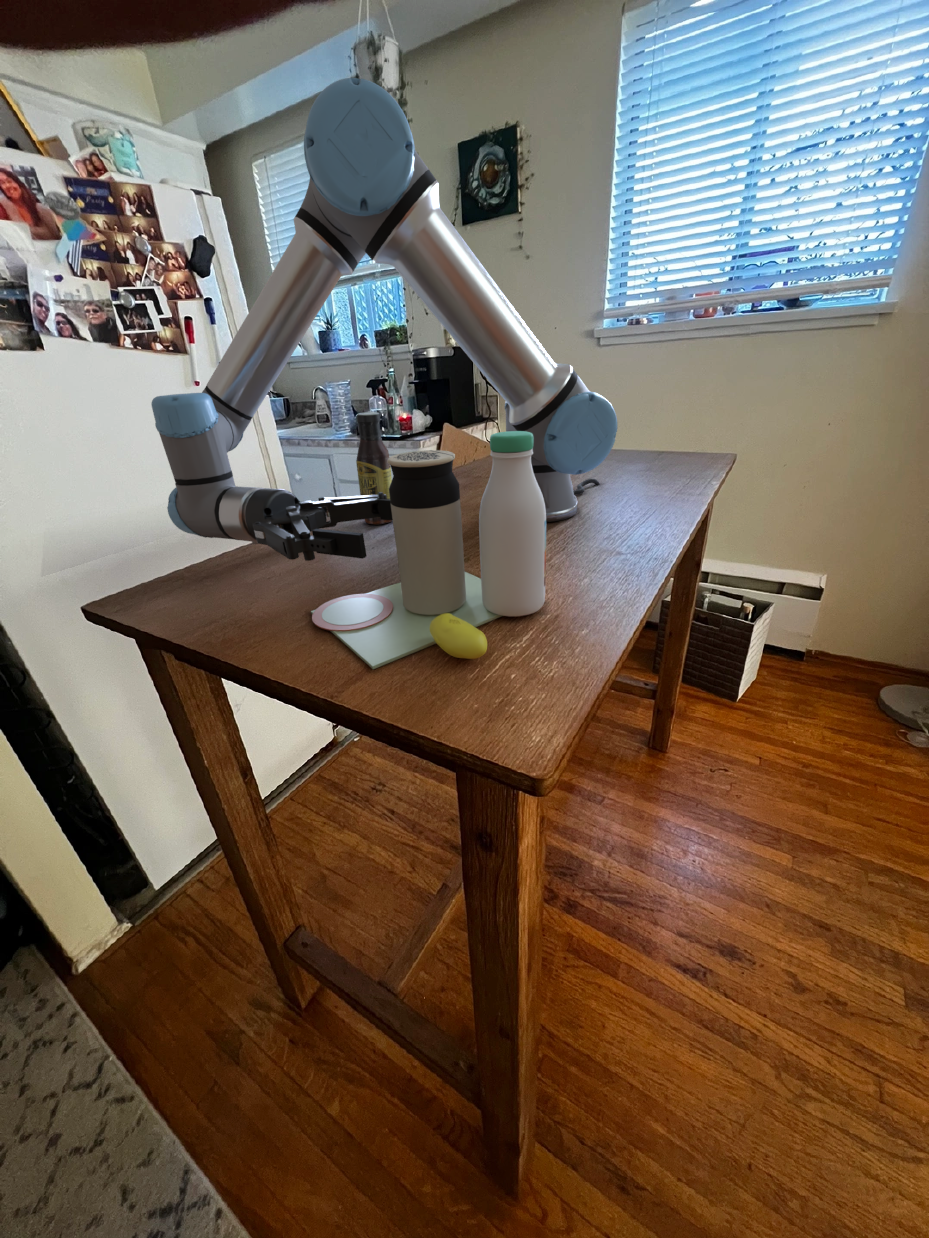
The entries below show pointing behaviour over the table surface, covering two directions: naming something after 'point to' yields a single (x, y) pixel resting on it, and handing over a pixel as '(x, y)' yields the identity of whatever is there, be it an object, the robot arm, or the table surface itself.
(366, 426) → the sauce bottle
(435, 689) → the table surface
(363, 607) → the placemat
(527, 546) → the milk bottle
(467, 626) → the lemon
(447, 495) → the travel mug
